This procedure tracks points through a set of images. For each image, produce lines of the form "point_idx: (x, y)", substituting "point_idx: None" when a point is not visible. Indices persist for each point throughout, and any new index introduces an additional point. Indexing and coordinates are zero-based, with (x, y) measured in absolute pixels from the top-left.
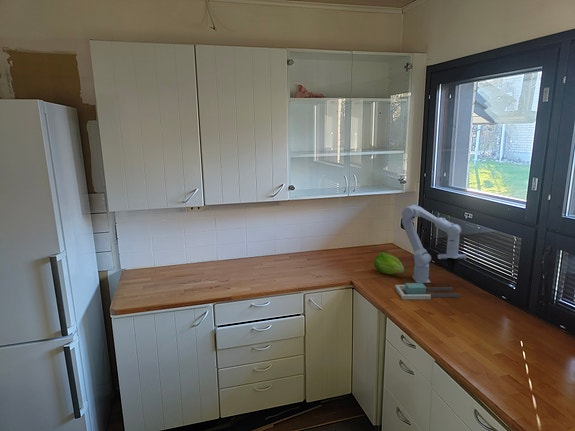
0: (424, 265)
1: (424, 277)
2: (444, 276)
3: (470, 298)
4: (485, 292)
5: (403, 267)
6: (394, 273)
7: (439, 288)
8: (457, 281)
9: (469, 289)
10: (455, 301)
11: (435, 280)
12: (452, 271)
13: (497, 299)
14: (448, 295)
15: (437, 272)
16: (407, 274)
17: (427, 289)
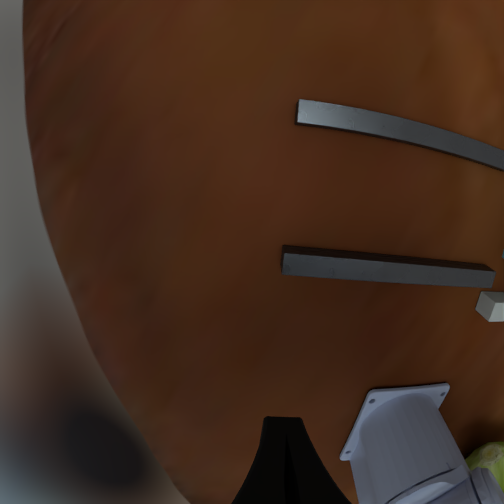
0: (479, 477)
1: (420, 415)
2: (216, 453)
3: (206, 68)
4: (42, 189)
5: (492, 466)
6: (489, 442)
7: (405, 263)
8: (161, 391)
9: (125, 254)
10: (369, 36)
11: (309, 419)
12: (270, 418)
13: (31, 71)
14: (397, 118)
15: (232, 485)
16: None
17: (477, 267)
